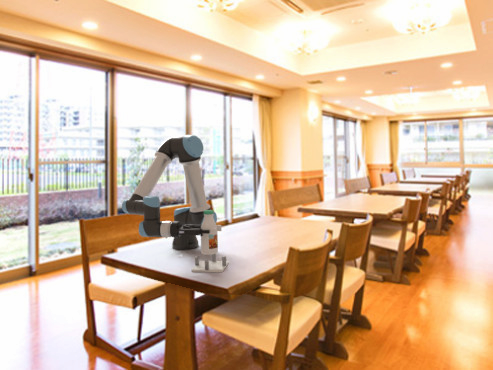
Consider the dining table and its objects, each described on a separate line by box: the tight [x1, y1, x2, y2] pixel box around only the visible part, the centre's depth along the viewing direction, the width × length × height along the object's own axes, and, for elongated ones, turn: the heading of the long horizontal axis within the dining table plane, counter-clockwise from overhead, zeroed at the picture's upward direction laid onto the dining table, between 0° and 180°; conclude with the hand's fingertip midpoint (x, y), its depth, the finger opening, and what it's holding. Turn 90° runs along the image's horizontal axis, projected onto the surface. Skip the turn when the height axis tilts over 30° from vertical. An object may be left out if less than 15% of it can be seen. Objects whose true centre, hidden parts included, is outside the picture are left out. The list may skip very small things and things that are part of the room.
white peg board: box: [191, 253, 229, 273], centre depth 163 cm, size 15×15×5 cm
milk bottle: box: [200, 209, 219, 256], centre depth 162 cm, size 8×8×20 cm
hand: (219, 229), depth 161 cm, fingers closed on milk bottle, 8 cm apart
